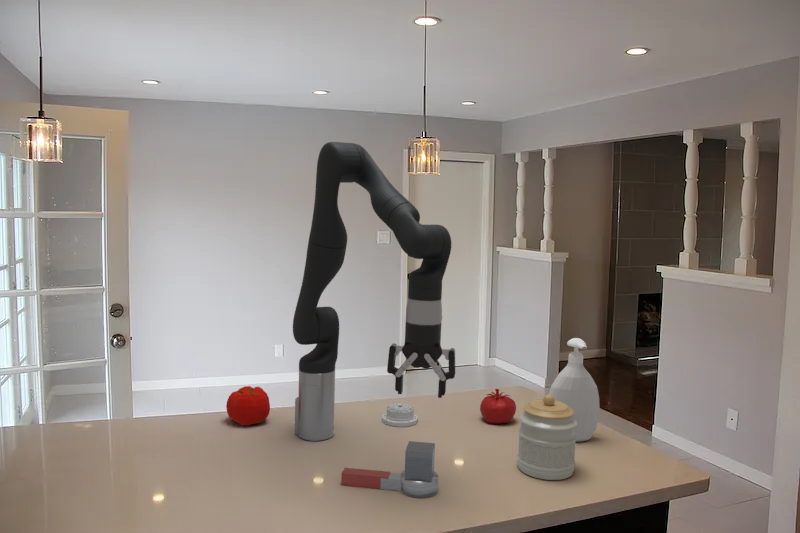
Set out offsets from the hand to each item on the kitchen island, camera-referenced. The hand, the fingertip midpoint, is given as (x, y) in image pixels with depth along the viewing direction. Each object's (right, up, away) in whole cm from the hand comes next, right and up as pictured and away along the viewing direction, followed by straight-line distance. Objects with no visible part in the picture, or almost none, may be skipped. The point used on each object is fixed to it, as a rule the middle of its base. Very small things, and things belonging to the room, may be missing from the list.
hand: (420, 395), depth 133 cm
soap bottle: (+41, -18, +30) cm, 54 cm away
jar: (+29, -20, +12) cm, 37 cm away
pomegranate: (+23, -17, +44) cm, 53 cm away
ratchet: (-6, -19, 0) cm, 21 cm away
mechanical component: (-4, -16, +42) cm, 45 cm away
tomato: (-45, -15, +37) cm, 61 cm away
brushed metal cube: (0, -17, -1) cm, 17 cm away
